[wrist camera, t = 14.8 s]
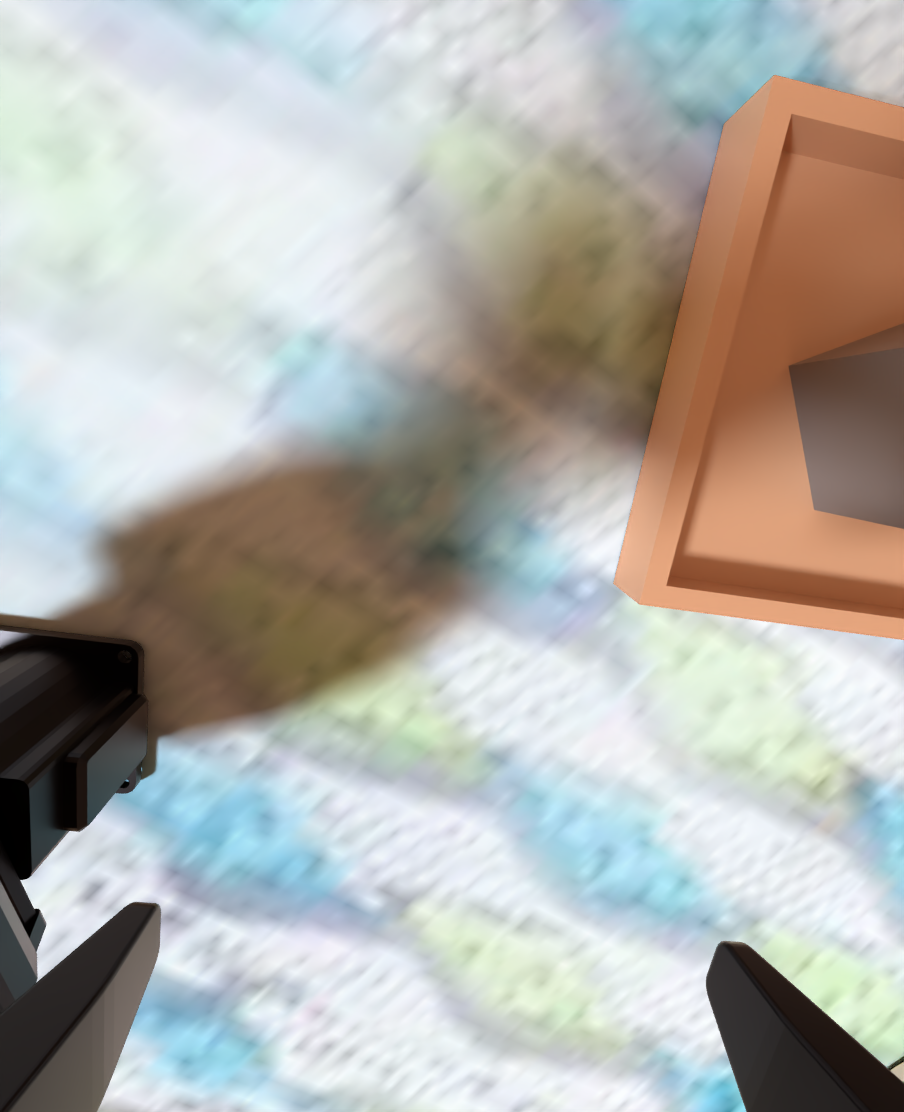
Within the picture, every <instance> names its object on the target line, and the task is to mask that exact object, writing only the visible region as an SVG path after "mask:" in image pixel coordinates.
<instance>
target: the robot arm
mask: <svg viewBox="0 0 904 1112" xmlns="http://www.w3.org/2000/svg"><path fill="white" fill-rule="evenodd" d="M123 651H127V652H129V653H130V654H131V656H132V658H131V659H130V658H127V657H126V656H125V655H124V653H123ZM143 672H144V652H143V649H142V647H141V646H140V645H139V644H138V643H137V642H134V641H131V640H123V639H114V638H105V637H96V636H88V635H79V634H70V633H62V632H53V631H44V630H35V629H27V628H18V627H9V626H0V1112H97V1111H98V1108H99V1106H100V1104H101V1102H102V1100H103V1097H104V1095H105V1093H106V1090H107V1088H108V1085H109V1083H110V1080H111V1078H112V1075H113V1073H114V1070H115V1067H116V1065H117V1062H118V1060H119V1057H120V1054H121V1052H122V1049H123V1047H124V1044H125V1041H126V1039H127V1036H128V1034H129V1031H130V1028H131V1026H132V1023H133V1021H134V1018H135V1016H136V1013H137V1010H138V1008H139V1005H140V1003H141V1000H142V997H143V995H144V992H145V990H146V987H147V984H148V982H149V979H150V977H151V974H152V971H153V969H154V966H155V963H156V960H157V957H158V953H159V947H160V925H161V908H160V906H159V904H156V903H145V902H133V903H131V904H129V905H127V906H126V907H124V908H123V909H122V910H121V911H120V912H119V913H117V914H116V915H115V916H114V917H113V918H112V919H110V920H109V921H108V922H107V923H106V924H105V925H103V926H102V927H101V928H100V929H99V930H98V931H96V932H95V933H94V934H93V935H92V936H91V937H89V938H88V939H87V940H86V941H85V942H84V943H82V944H81V945H80V946H79V947H78V948H77V949H75V950H74V951H73V952H72V953H71V954H70V955H68V956H67V957H66V958H65V959H64V960H63V961H61V962H60V963H59V964H58V965H57V966H55V967H54V968H53V969H52V970H51V971H50V972H48V973H47V974H46V975H45V976H44V977H43V978H41V979H40V980H39V981H38V982H37V983H36V981H37V953H36V952H37V949H38V946H39V943H40V941H41V938H42V935H43V933H44V930H45V927H46V922H45V920H44V918H43V915H42V913H41V911H40V910H39V909H34V908H33V906H32V904H31V902H30V900H29V898H28V895H27V893H26V891H25V889H24V887H23V885H22V883H21V881H20V880H24V879H28V878H29V877H30V876H31V875H32V874H33V873H34V872H35V871H36V869H37V868H38V867H39V866H40V865H41V864H42V862H43V861H44V860H45V859H46V858H47V857H48V855H49V854H50V853H51V852H52V851H53V850H54V848H55V847H56V846H57V845H58V844H59V842H60V841H61V840H62V839H63V838H64V837H65V835H66V834H67V833H68V832H69V831H77V832H80V831H82V830H83V829H84V828H86V827H87V826H88V825H89V824H90V823H91V822H92V821H93V819H94V818H95V817H96V816H97V815H98V813H99V812H100V811H101V810H102V808H103V807H104V806H105V805H106V804H107V802H108V801H109V800H110V799H111V797H112V796H113V795H114V794H115V793H122V794H123V793H129V792H131V791H133V789H134V788H135V787H136V786H137V784H138V783H139V782H140V779H141V761H142V759H143V758H144V757H145V756H146V753H147V721H148V700H147V699H146V697H145V695H143ZM126 779H128V780H129V782H127V781H125V780H126ZM35 983H36V984H35ZM706 989H707V994H708V998H709V1001H710V1004H711V1007H712V1010H713V1013H714V1016H715V1019H716V1022H717V1025H718V1028H719V1031H720V1034H721V1037H722V1040H723V1043H724V1046H725V1049H726V1052H727V1055H728V1058H729V1061H730V1064H731V1067H732V1070H733V1073H734V1076H735V1079H736V1082H737V1085H738V1088H739V1091H740V1094H741V1097H742V1100H743V1103H744V1106H745V1108H746V1111H747V1112H904V1082H903V1081H901V1080H900V1079H899V1078H898V1077H897V1076H896V1075H895V1074H893V1073H892V1072H891V1071H890V1070H889V1069H888V1068H887V1067H886V1066H884V1065H883V1064H882V1063H881V1062H880V1061H879V1060H878V1059H877V1058H875V1057H874V1056H873V1055H872V1054H871V1053H870V1052H869V1051H867V1050H866V1049H865V1048H864V1047H863V1046H862V1045H861V1044H860V1043H858V1042H857V1041H856V1040H855V1039H854V1038H853V1037H852V1036H851V1035H849V1034H848V1033H847V1032H846V1031H845V1030H844V1029H843V1028H841V1027H840V1026H839V1025H838V1024H837V1023H836V1022H835V1021H834V1020H832V1019H831V1018H830V1017H829V1016H828V1015H827V1014H826V1013H825V1012H823V1011H822V1010H821V1009H820V1008H819V1007H818V1006H817V1005H815V1004H814V1003H813V1002H812V1001H811V1000H810V999H809V998H808V997H806V996H805V995H804V994H803V993H802V992H801V991H800V990H799V989H797V988H796V987H795V986H794V985H793V984H792V983H791V982H790V981H788V980H787V979H786V978H785V977H784V976H783V975H782V974H780V973H779V972H778V971H777V970H776V969H775V968H774V967H773V966H771V965H770V964H769V963H768V962H767V961H766V960H765V959H764V958H762V957H761V956H760V955H759V954H758V953H757V952H756V951H754V950H753V949H752V948H751V947H750V946H748V945H747V944H745V943H742V942H733V941H722V942H720V943H719V944H718V946H717V948H716V951H715V953H714V956H713V959H712V962H711V965H710V968H709V971H708V973H707V977H706Z"/></svg>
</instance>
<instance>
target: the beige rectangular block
mask: <svg viewBox="0 0 904 1112" xmlns="http://www.w3.org/2000/svg"><path fill="white" fill-rule="evenodd" d="M789 372H790V378H791V383H792V389H793V394H794V400H795V406H796V411H797V417H798V422H799V428H800V434H801V439H802V445H803V451H804V456H805V462H806V467H807V473H808V479H809V484H810V490H811V495H812V501H813V507H814V510H817V511H821V512H826V513H831V514H835V515H840V516H845V517H850V518H854V519H859V520H864V521H868V522H873V523H878V524H883V525H887V526H892V527H897V528H901V529H904V323H902V324H900V325H897V326H894V327H892V328H889V329H886V330H884V331H881V332H878V333H875V334H873V335H870V336H867V337H865V338H862V339H859V340H857V341H854V342H851V343H849V344H846V345H843V346H840V347H838V348H835V349H832V350H830V351H827V352H824V353H822V354H819V355H816V356H813V357H811V358H808V359H805V360H803V361H800V362H797V363H795V364H792V365H789Z"/></svg>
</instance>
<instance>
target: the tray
mask: <svg viewBox="0 0 904 1112" xmlns="http://www.w3.org/2000/svg"><path fill="white" fill-rule="evenodd" d="M902 323H904V107H900V106H896V105H892V104H888V103H884V102H880V101H876V100H872V99H868V98H864V97H860V96H856V95H852V94H848V93H844V92H840V91H836V90H832V89H828V88H824V87H820V86H816V85H813V84H809V83H805V82H801V81H797V80H793V79H789V78H785V77H781V76H777V75H774V76H773V77H772V78H771V79H770V80H769V81H768V82H766V83H765V84H764V85H763V86H762V87H761V88H760V89H759V90H758V91H757V92H756V93H755V94H754V95H753V96H752V97H751V98H750V99H749V100H748V101H747V102H746V103H745V104H744V105H743V106H742V107H741V108H740V109H739V110H738V111H737V112H736V113H735V114H734V115H733V116H732V117H731V118H730V119H729V120H728V121H727V122H725V123H724V126H723V130H722V134H721V138H720V142H719V147H718V151H717V155H716V159H715V163H714V167H713V172H712V176H711V180H710V184H709V188H708V192H707V196H706V201H705V205H704V209H703V213H702V217H701V221H700V226H699V230H698V234H697V238H696V242H695V246H694V250H693V255H692V259H691V263H690V267H689V271H688V275H687V280H686V284H685V288H684V292H683V296H682V300H681V304H680V309H679V313H678V317H677V321H676V325H675V329H674V334H673V338H672V342H671V346H670V350H669V354H668V358H667V363H666V367H665V371H664V375H663V379H662V383H661V388H660V392H659V396H658V400H657V404H656V408H655V412H654V417H653V421H652V425H651V429H650V433H649V437H648V442H647V446H646V450H645V454H644V458H643V462H642V466H641V471H640V475H639V479H638V483H637V487H636V491H635V496H634V500H633V504H632V508H631V512H630V516H629V520H628V525H627V529H626V533H625V537H624V541H623V545H622V550H621V554H620V558H619V562H618V566H617V570H616V574H615V579H614V583H613V584H614V585H616V586H617V587H618V588H619V589H621V590H622V591H623V592H624V593H626V594H627V595H628V596H629V597H631V598H632V599H633V600H634V601H636V602H637V603H638V604H640V605H648V606H655V607H663V608H670V609H678V610H685V611H693V612H700V613H707V614H715V615H722V616H730V617H737V618H745V619H752V620H760V621H767V622H774V623H782V624H789V625H797V626H804V627H812V628H819V629H827V630H834V631H841V632H849V633H856V634H864V635H871V636H879V637H886V638H894V639H901V640H904V529H901V528H897V527H892V526H887V525H883V524H878V523H873V522H868V521H864V520H859V519H854V518H850V517H845V516H840V515H835V514H831V513H826V512H821V511H817V510H814V507H813V501H812V495H811V490H810V484H809V479H808V473H807V467H806V462H805V456H804V451H803V445H802V439H801V434H800V428H799V422H798V417H797V411H796V406H795V400H794V394H793V389H792V383H791V378H790V372H789V365H792V364H795V363H797V362H800V361H803V360H805V359H808V358H811V357H813V356H816V355H819V354H822V353H824V352H827V351H830V350H832V349H835V348H838V347H840V346H843V345H846V344H849V343H851V342H854V341H857V340H859V339H862V338H865V337H867V336H870V335H873V334H875V333H878V332H881V331H884V330H886V329H889V328H892V327H894V326H897V325H900V324H902Z"/></svg>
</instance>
